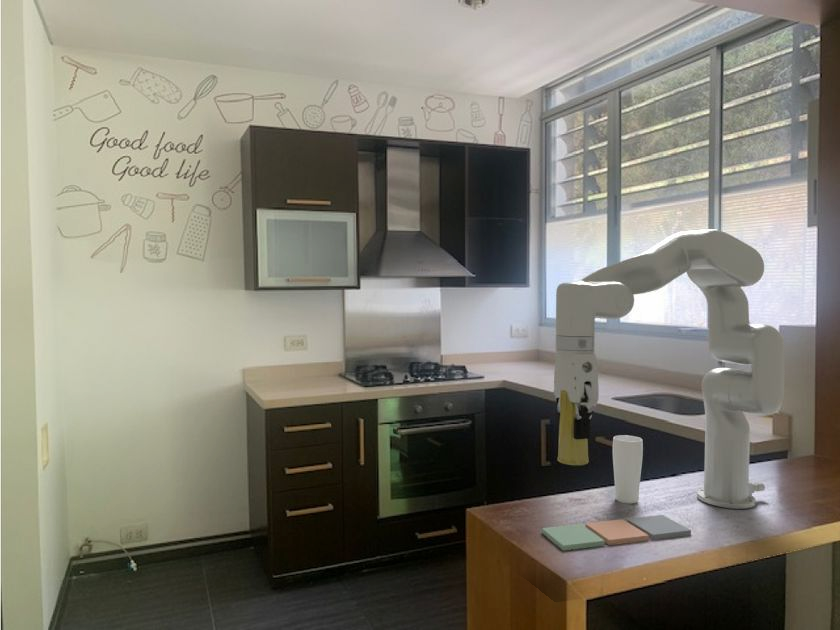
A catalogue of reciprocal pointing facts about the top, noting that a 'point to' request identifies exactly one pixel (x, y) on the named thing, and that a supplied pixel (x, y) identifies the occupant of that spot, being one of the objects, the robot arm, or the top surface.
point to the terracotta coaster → (617, 532)
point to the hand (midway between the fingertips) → (573, 434)
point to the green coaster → (573, 537)
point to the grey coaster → (659, 527)
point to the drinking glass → (627, 467)
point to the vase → (570, 435)
